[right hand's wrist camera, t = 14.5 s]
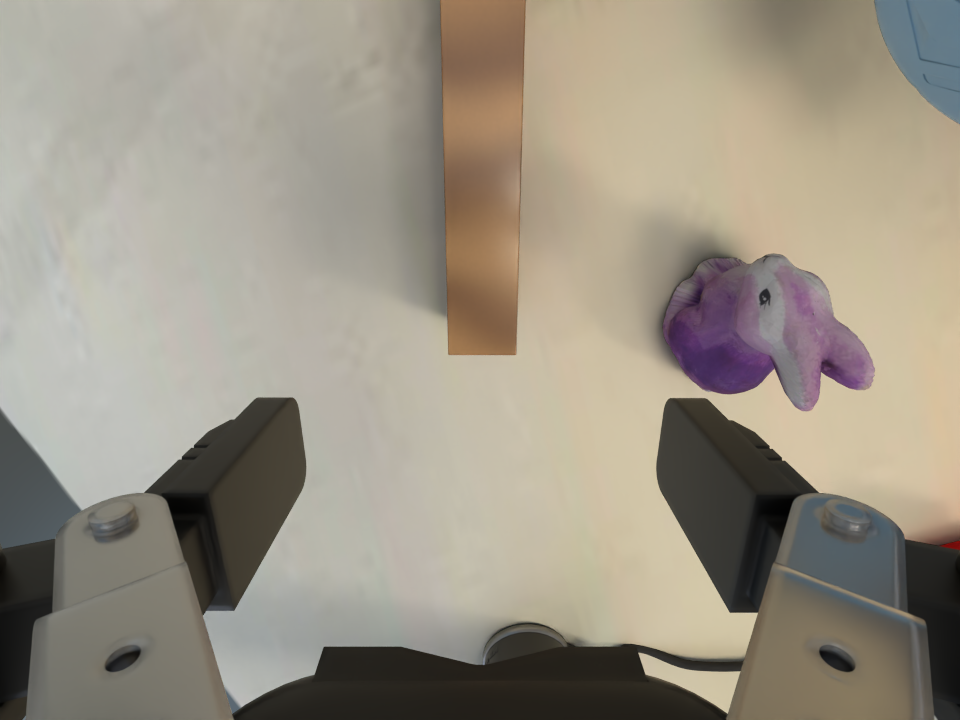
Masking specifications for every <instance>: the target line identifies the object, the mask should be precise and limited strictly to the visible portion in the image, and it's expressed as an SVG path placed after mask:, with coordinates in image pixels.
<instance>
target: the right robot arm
mask: <svg viewBox="0 0 960 720" xmlns="http://www.w3.org/2000/svg"><path fill="white" fill-rule="evenodd" d="M656 471H657V480H658V484H659V488H660V490H661V492H662V494H663V496H664V498H665V499H666V501H667V503H668V505H669V506H670V508H671V510H672V512H673V513H674V515H675V517H676V519H677V520H678V522H679V524H680V526H681V527H682V529H683V531H684V533H685V535H686V536H687V538H688V540H689V542H690V543H691V545H692V547H693V549H694V550H695V552H696V554H697V556H698V557H699V559H700V561H701V563H702V564H703V566H704V568H705V570H706V571H707V573H708V575H709V577H710V578H711V580H712V582H713V584H714V585H715V587H716V589H717V591H718V593H719V594H720V596H721V598H722V600H723V601H724V603H725V605H726V607H727V608H728V610H729V612H730V613H758V615H757V619H756V622H755V625H754V629H753V632H752V635H751V639H750V642H749V645H748V649H747V652H746V655H745V659H744V661H741V662H704V661H691V660H685V659H681V658H678V657H675V656H672V655H670V654H667V653H665V652H662V651H660V650H657V649H653V648H649V647H645V646H640V645H634V644H625V645H622V646H621V647H575V646H574V645H570V644H567V643H566V641H565V640H564V639H563V638H562V637H561V636H560V635H559V634H558V633H557V632H555V631H553V630H551V629H549V628H547V627H544V626H540V625H533V624H523V625H516V626H512V627H509V628H506V629H504V630H502V631H500V632H498V633H497V634H496V635H494V636H493V637H492V638H491V639H490V640H489V642H488V643H487V645H486V647H485V649H484V654H483V665H474V664H469V663H465V662H461V661H457V660H453V659H449V658H444V657H440V656H436V655H432V654H428V653H424V652H420V651H416V650H412V649H408V648H404V647H324V648H323V651H322V654H321V657H320V660H319V663H318V666H317V669H316V672H315V675H312V676H308V677H304V678H301V679H299V680H296V681H293V682H290V683H287V684H285V685H282V686H280V687H278V688H276V689H274V690H272V691H269V692H267V693H265V694H263V695H262V696H260V697H258V698H256V699H255V700H253V701H251V702H250V703H248V704H246V705H245V706H243V707H242V708H240V709H239V710H237V711H236V712H235V713H233V714H232V712H231V709H230V705H229V702H228V699H227V695H226V692H225V689H224V685H223V682H222V679H221V675H220V672H219V669H218V665H217V662H216V659H215V655H214V652H213V649H212V645H211V642H210V639H209V635H208V632H207V629H206V625H205V622H204V619H203V615H204V613H205V611H234V610H235V608H236V607H237V605H238V603H239V601H240V599H241V598H242V596H243V594H244V592H245V591H246V589H247V587H248V585H249V583H250V582H251V580H252V578H253V576H254V575H255V573H256V571H257V569H258V567H259V566H260V564H261V562H262V560H263V559H264V557H265V555H266V553H267V551H268V550H269V548H270V546H271V544H272V543H273V541H274V539H275V537H276V535H277V534H278V532H279V530H280V528H281V527H282V525H283V523H284V521H285V519H286V518H287V516H288V514H289V512H290V511H291V509H292V507H293V505H294V503H295V502H296V500H297V498H298V496H299V494H300V493H301V491H302V489H303V486H304V482H305V477H306V458H305V450H304V443H303V436H302V428H301V421H300V414H299V408H298V404H297V402H296V400H295V399H294V398H256V399H255V400H254V401H253V402H252V403H251V404H250V405H249V406H248V407H247V408H246V409H245V410H244V411H243V412H242V413H241V414H240V415H239V416H238V417H237V418H236V419H235V420H229V421H227V422H225V423H224V424H222V425H220V426H218V427H216V428H214V429H212V430H210V431H209V432H207V433H206V434H205V435H204V436H203V437H202V438H201V439H200V440H199V441H198V442H197V443H196V444H195V445H194V448H191V449H190V450H189V451H187V452H186V453H185V454H184V455H183V456H182V460H178V461H177V462H176V463H175V464H174V465H173V466H172V467H171V468H170V469H169V470H167V471H166V472H165V473H164V474H163V475H162V476H161V477H160V478H159V479H158V480H157V481H156V482H155V483H154V484H153V485H152V486H151V487H150V488H149V489H147V490H146V491H145V492H144V493H135V494H127V495H122V496H118V497H114V498H111V499H108V500H105V501H102V502H99V503H97V504H94V505H92V506H90V507H88V508H86V509H84V510H83V511H81V512H79V513H78V514H76V515H75V516H73V517H72V518H70V519H69V520H68V521H67V522H66V523H65V524H64V525H63V526H62V527H61V528H60V529H59V531H58V533H57V534H56V538H55V539H51V540H46V541H41V542H35V543H30V544H25V545H20V546H15V547H10V548H4V549H2V546H1V544H0V720H22V719H23V718H24V717H25V716H26V720H934V716H935V717H936V718H937V719H938V720H960V550H957V549H952V548H947V547H942V546H936V545H931V544H926V543H921V542H916V541H910V540H906V539H905V538H904V534H903V533H902V531H901V529H900V528H899V527H898V526H897V525H896V524H895V523H894V522H893V521H892V520H891V519H890V518H888V517H887V516H885V515H884V514H883V513H881V512H879V511H877V510H876V509H874V508H872V507H870V506H868V505H866V504H863V503H861V502H858V501H855V500H852V499H849V498H846V497H842V496H838V495H833V494H825V493H819V492H818V491H817V490H816V489H814V488H813V487H812V486H811V485H810V484H809V483H808V482H807V481H806V480H805V479H804V478H803V477H802V476H801V475H800V474H799V473H797V472H796V471H795V470H794V469H793V468H792V467H791V466H790V465H789V464H788V463H787V462H786V461H782V457H780V456H779V455H778V454H777V453H776V452H775V451H774V450H773V449H770V448H769V445H768V444H767V443H766V442H765V441H764V440H762V439H761V438H760V437H759V436H758V435H757V434H756V433H755V432H753V431H751V430H750V429H748V428H746V427H744V426H742V425H740V424H738V423H736V422H734V421H732V420H728V419H727V418H726V417H725V416H724V415H723V414H722V413H721V412H720V411H719V410H718V409H717V408H716V407H715V406H714V405H713V404H712V403H711V402H710V401H709V400H708V399H706V398H670V399H668V401H667V402H666V404H665V408H664V413H663V420H662V427H661V435H660V442H659V449H658V456H657V465H656ZM638 652H639V653H644V654H647V655H650V656H653V657H655V658H657V659H660V660H662V661H664V662H667V663H669V664H671V665H674V666H677V667H680V668H684V669H689V670H697V671H719V672H728V671H741V672H740V675H739V679H738V682H737V685H736V689H735V692H734V695H733V699H732V702H731V705H730V709H729V712H728V714H727V713H725V712H724V711H723V710H721V709H720V708H718V707H717V706H715V705H714V704H712V703H710V702H709V701H707V700H705V699H704V698H702V697H700V696H698V695H697V694H695V693H693V692H691V691H688V690H686V689H684V688H682V687H680V686H678V685H675V684H673V683H670V682H667V681H664V680H661V679H659V678H656V677H652V676H648V675H645V672H644V669H643V666H642V663H641V660H640V657H639V654H638Z"/></svg>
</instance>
